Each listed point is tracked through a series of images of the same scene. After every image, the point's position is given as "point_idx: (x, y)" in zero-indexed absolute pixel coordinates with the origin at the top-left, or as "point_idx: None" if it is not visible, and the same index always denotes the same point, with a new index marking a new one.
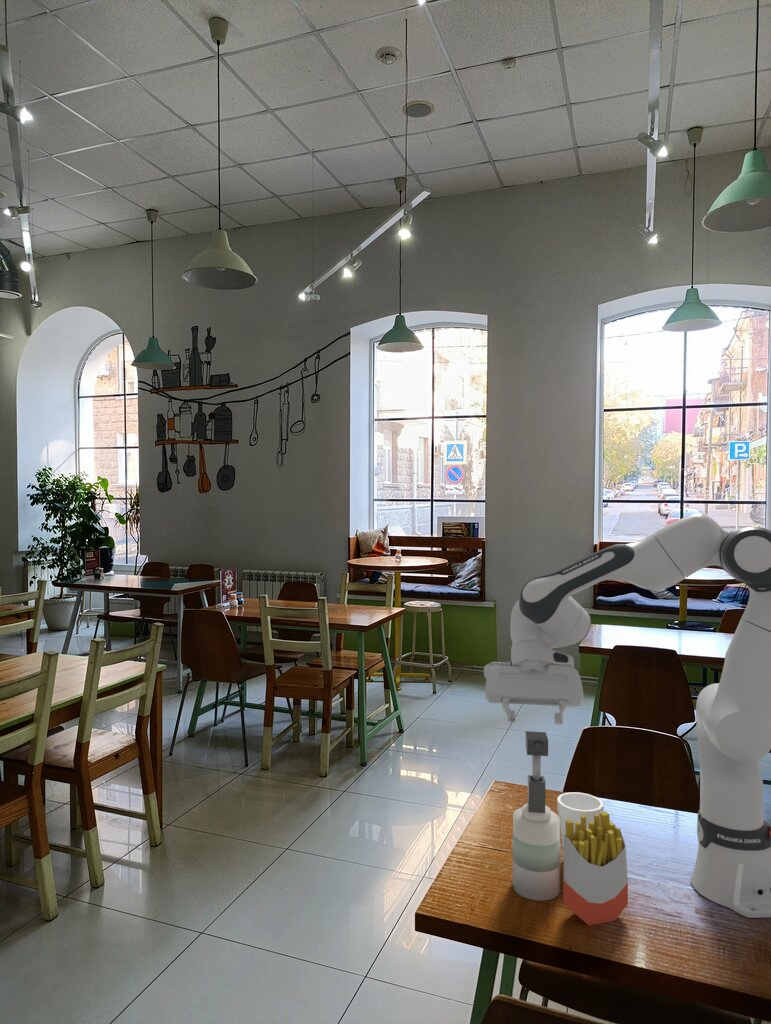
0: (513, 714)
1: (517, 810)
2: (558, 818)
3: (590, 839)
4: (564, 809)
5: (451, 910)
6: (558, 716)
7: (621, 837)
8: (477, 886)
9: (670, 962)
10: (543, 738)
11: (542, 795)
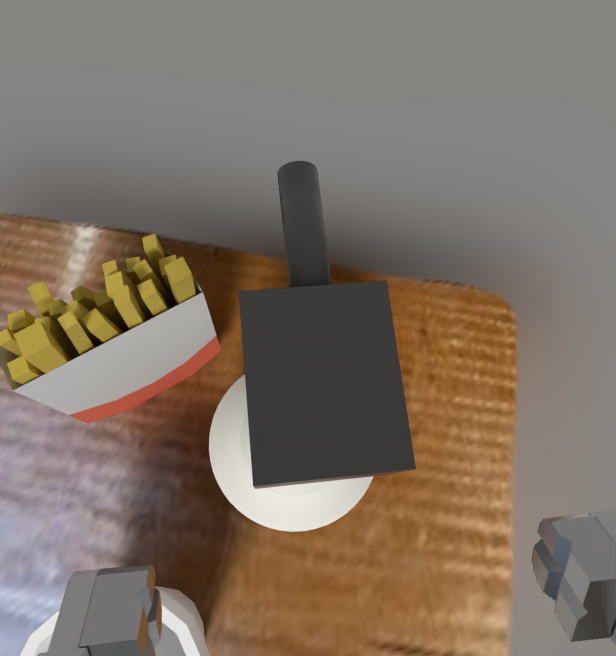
0: (582, 539)
1: (366, 478)
2: (213, 446)
3: (118, 268)
4: (182, 618)
5: (465, 318)
6: (105, 602)
7: (4, 354)
8: (428, 428)
9: (22, 250)
10: (272, 330)
11: None
